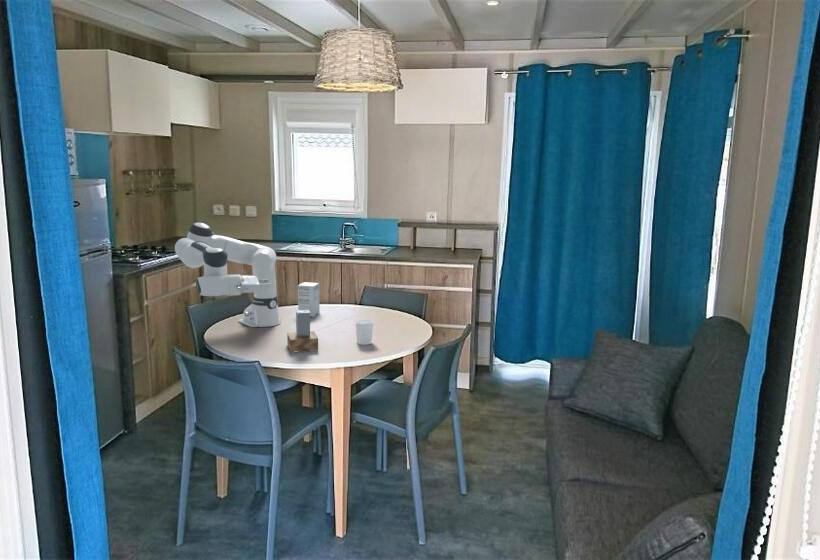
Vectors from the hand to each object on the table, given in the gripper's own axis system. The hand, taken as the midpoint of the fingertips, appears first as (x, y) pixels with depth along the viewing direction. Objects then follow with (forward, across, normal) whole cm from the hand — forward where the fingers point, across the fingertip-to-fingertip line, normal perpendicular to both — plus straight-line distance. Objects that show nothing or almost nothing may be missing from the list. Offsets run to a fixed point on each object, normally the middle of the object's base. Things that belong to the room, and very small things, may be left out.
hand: (269, 283), depth 276 cm
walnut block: (+14, 0, +30) cm, 33 cm away
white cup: (+42, +1, +30) cm, 52 cm away
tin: (+14, 0, +24) cm, 28 cm away
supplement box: (+26, +64, +30) cm, 76 cm away
